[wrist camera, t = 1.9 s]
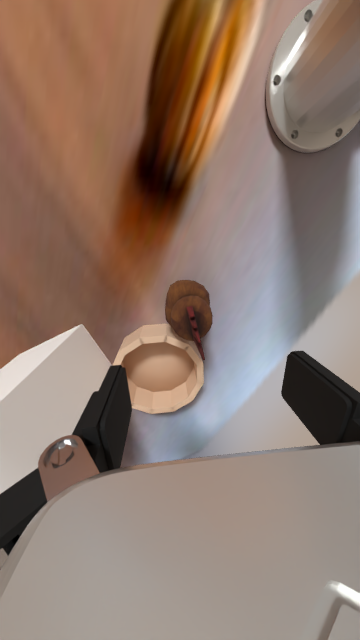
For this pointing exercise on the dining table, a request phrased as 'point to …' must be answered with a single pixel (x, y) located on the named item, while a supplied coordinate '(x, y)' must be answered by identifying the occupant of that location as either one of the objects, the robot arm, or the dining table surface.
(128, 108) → the dining table surface
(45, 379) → the milk
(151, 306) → the dining table surface
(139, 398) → the pot
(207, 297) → the wooden figurine
